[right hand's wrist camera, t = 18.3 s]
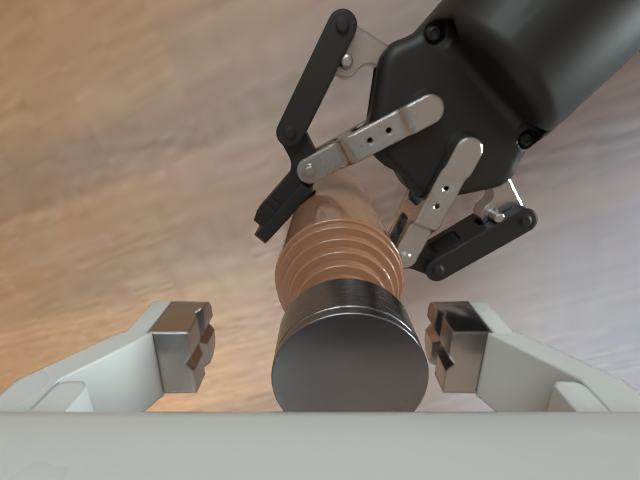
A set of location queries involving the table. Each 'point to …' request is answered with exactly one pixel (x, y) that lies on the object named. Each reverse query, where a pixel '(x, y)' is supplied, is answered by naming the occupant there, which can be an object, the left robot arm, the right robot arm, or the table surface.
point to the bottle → (336, 241)
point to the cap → (348, 352)
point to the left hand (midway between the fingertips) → (302, 265)
